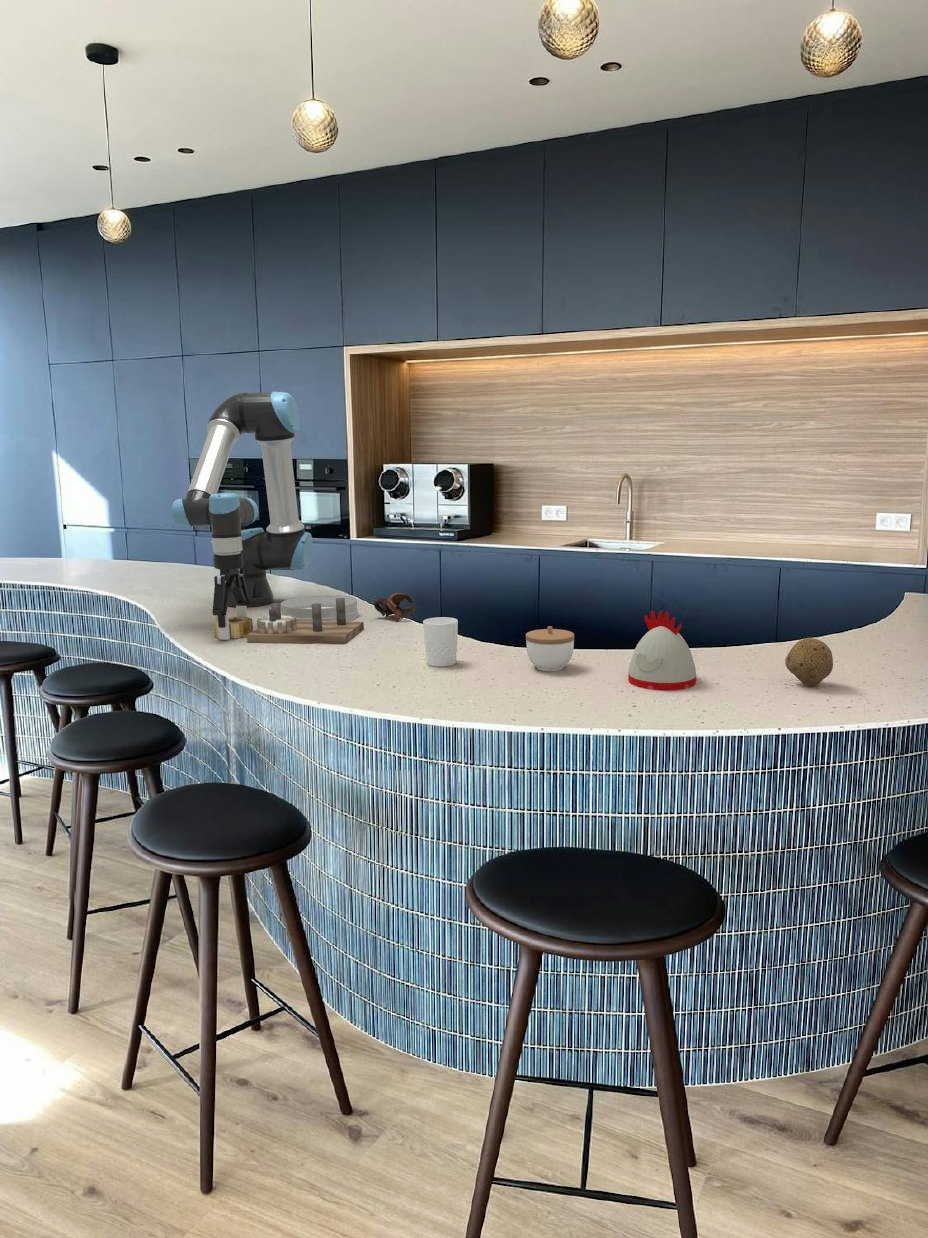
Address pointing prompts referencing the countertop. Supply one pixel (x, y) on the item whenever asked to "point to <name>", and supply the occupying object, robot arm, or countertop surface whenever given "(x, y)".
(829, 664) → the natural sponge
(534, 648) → the lidded jar
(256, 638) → the gear board
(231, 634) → the brass gear
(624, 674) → the countertop surface
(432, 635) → the white cup
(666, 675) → the kitchen timer
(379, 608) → the brown curved piece
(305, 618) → the dish
